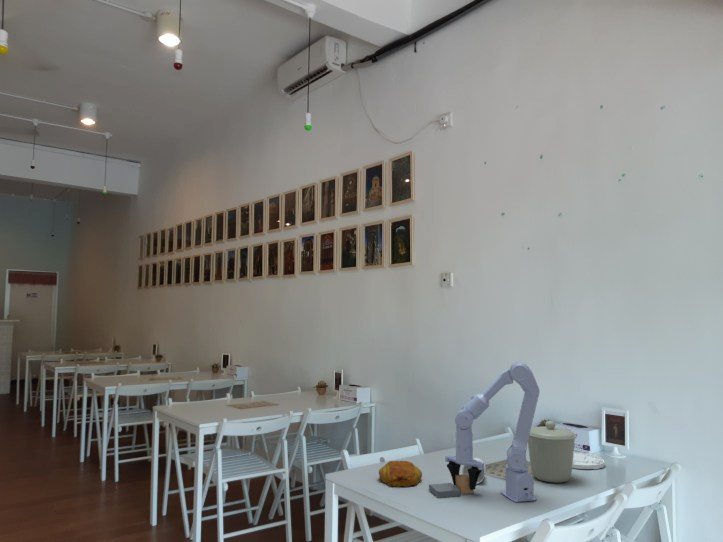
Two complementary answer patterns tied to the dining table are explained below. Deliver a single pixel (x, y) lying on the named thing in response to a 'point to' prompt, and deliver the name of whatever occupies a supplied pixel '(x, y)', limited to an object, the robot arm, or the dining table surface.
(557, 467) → the canister
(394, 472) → the croissant
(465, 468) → the white cup
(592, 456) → the embossed medallion
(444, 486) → the slate coaster
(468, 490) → the tan rectangular block
